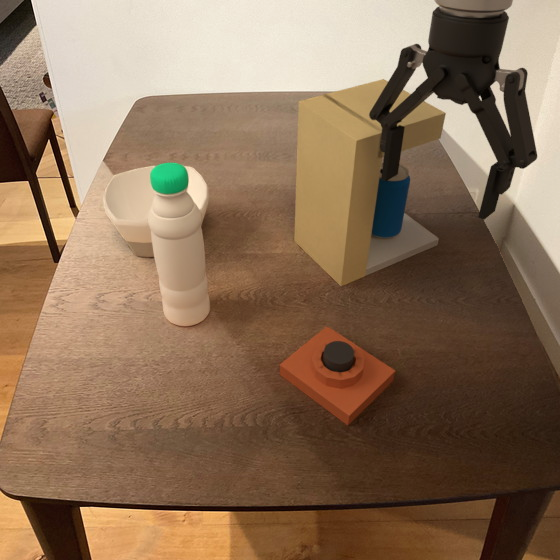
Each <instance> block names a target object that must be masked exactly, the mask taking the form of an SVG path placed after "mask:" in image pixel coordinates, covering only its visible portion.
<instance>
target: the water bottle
mask: <svg viewBox="0 0 560 560" xmlns="http://www.w3.org/2000/svg"><path fill="white" fill-rule="evenodd" d="M155 166H156V167H154V168H153V169H152V171H151V173H150V181H151V186H152V188H153V191H154V192H155V193H156V196H155V198H154V200H153V203H152V206H151V209H150V211H149V215H148V224H149V227H150V229H151V236H152V245H153V252H154V257H153V258H154V262H155V268H156V271H157V275H158V280H159V281H158V285H159V293H160V296H161V300H162V301H161V302H162V310H163V315H164V317H165V319H166V320H167V321H168V322H169V323H171V324H173V325H175V326H178V327H191V326H195V325H197V324H199V323H202V322H203V321H204V320H205V319H206V318H207V317H208V315H209V314H210V311H211V301H210V295H209V292H208V291H209V286H208V285H209V284H208V281H209V280H208V277H207V273H206V269H207V268H206V266H207V265H206V252H205V242H204V234H203V229H202V225H201V212H200V210H199V208H198V206H197V205H196V204H195V202H194V201H193V199H192V197H191V196H190V195H189V194H188V193H187V192H186V190H187V189H188V183H189V178H188V172H187V170H186V168H185V167H184V166H185V165H183V164H181V163H178V162H163V163H160V164H157V165H155Z"/></svg>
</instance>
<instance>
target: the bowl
mask: <svg viewBox="0 0 560 560" xmlns="http://www.w3.org/2000/svg"><path fill="white" fill-rule="evenodd" d="M156 166H157V165H150V166H149V165H148V166H145V167H138V168H133V169H130V170H126V171H123V172H120V173H116V174H114V175H113V176H112V177H111V179H110V180H109V182H108V183H107V185H106V186H105V190H104V193H103V196H102V206H103V208H104V209H103V210H104V212H105V215H106V216H107V217H108V219H109V220H110V222H111V223H112V224H113V226H114V227H115V229H116V231H118V234H119V235H120V236H121V237H122V238H123V240H124V241H125V243H126V245H128V247H129V249H130V250H131V251H132V253H133V254H134V255H135V257H145V258H154V252H153V245H152V236H151V229H150V227H149V224H148V215H149V211H150V209H151V206H152V203H153V200H154V198H155V196H156V193H155V192H154V191H153V188H152V186H151V181H150V173H151V171H152V169H153V168H154V167H156ZM183 166H184V167H185V168H186V170H187V172H188V178H189V183H188V189H187V190H186V192H187V193H188V194H189V195H190V196H191V197H192V199H193V201H194V202H195V204H196V205H197V206H198V208H199V210H200V212H201V226H202V225H203V223H204V219H205V215H206V214H207V213H206V212H207V209H208V206H209V202H210V188H209V185H208V184H207V182H206V180H205V178H204V176H203V175H201V174H200V172H198V171H197V170H196V169H195V168H194V167H193V166H189V165H183Z"/></svg>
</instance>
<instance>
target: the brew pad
mask: <svg viewBox="0 0 560 560" xmlns="http://www.w3.org/2000/svg"><path fill="white" fill-rule="evenodd" d="M333 341H342V342H346V343H348V344H349V345H350V346H351V347H352V348H353V350H354V360H353V365H352V367H351V368H350V369H349V370H347V371H345V372H334V371H331V370H329V369H328V368H327V367H326V366H325V365H324V362H323V355H324V348H325V347H326V345H327V344H329V343H330V342H333ZM395 374H396V370H395V369H394V368H392V367H391V366H389V365H387V364H386V363H384V362H383V361H381V360H380V359H378V358H377V357H375V356H374V355H372V354H371V353H369V352H368V351H366V350H365V349H363V348H362V347H360V346H358V345H356V344H355V343H354V342H352V341H351V340H349V339H347V337H344V336H343V335H342V334H340V333H338V332H337V331H335V330H334V329H332V328H330V327H329V326H325V327H324V328H323V329H321V330H320V331H319V332H318V333H317V334H316V335H314V336H313V337H312V338H310V339H309V340H308V341H306V342H305V343H304V344H303V345H302V346H301V347H299V348H298V349H297V350H295V352H293V353H291V354H290V355H289V356H288V357H287V358H286V359H285V360H283V361H282V362H281V363H279V376H281V377H282V378H283V379H285V380H286V381H287V382H289V384H292V385H293V386H294V387H295V388H297V389H298V390H300V391H301V392H302V393H303V394H304V395H306V396H307V397H309V398H310V399H311V400H312V401H314V402H315V403H316V404H318V405H320V406H321V408H323V409H325V410H326V411H327V412H329V413H330V414H331V415H333V416H334V417H335V418H336V419H337V420H339V421H341V422H342V423H343V424H345V426H349V425H350V424H352V423H353V422H354V421H355V419H356V418H357V417H358V416H360V415H361V414H362V413H363V412H364V411H365V410H366V408H368V406H370V405H371V404H372V403H373V402H374V400H376V399H377V398H378V397H379V396H380V395H381V394H382V393H383V392H384V391H385V390H386V389H387V388H388V387H389V386H390V385H391V384H392V383H393V382H394V380H395Z"/></svg>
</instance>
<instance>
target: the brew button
mask: <svg viewBox="0 0 560 560" xmlns="http://www.w3.org/2000/svg"><path fill="white" fill-rule="evenodd" d="M353 360H354V350H353V348H352V347H351V346H350V345H349V344H348V343H346V342H342V341H333V342H330V343H329V344H327V345H326V347H325V348H324V355H323V362H324V365H325V366H326V367H327V368H328V369H329V370H331V371H334V372H345V371H347V370H349V369H350V368H351V367H352V365H353Z"/></svg>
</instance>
